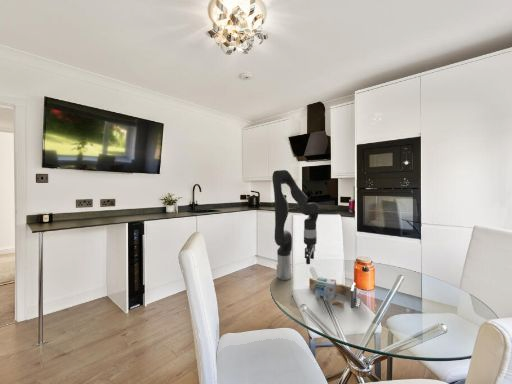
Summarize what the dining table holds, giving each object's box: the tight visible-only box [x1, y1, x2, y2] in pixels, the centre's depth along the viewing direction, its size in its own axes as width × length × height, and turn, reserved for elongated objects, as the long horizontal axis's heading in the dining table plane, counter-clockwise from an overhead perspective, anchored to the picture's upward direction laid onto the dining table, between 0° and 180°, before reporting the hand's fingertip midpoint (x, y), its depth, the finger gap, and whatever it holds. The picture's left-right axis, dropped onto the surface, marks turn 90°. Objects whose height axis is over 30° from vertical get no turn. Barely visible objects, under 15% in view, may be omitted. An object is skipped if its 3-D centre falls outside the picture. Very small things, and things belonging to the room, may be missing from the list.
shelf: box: [308, 277, 358, 308], centre depth 146 cm, size 28×14×6 cm, turn 61°
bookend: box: [350, 282, 361, 309], centre depth 138 cm, size 4×10×10 cm, turn 151°
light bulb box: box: [315, 276, 337, 303], centre depth 146 cm, size 11×7×11 cm, turn 62°
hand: (310, 261), depth 149 cm, fingers open, 8 cm apart
